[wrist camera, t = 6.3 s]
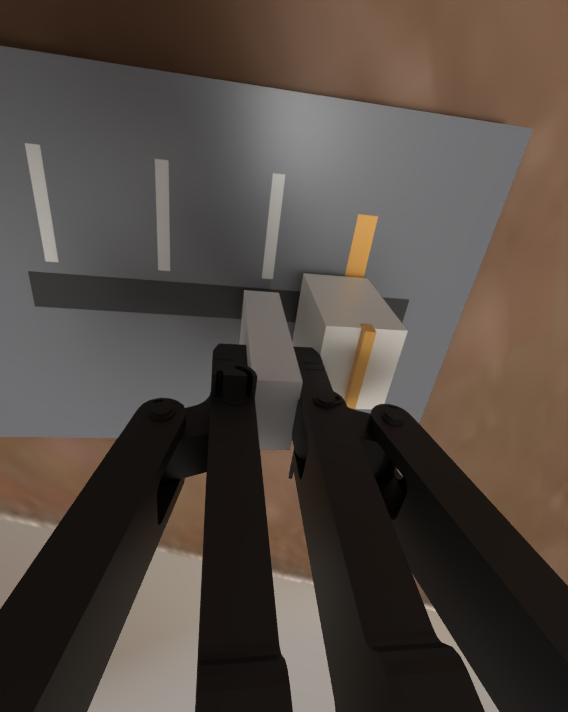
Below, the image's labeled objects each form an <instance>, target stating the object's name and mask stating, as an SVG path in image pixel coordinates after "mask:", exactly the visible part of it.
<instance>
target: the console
mask: <svg viewBox="0 0 568 712" xmlns="http://www.w3.org/2000/svg"><path fill="white" fill-rule="evenodd" d="M532 131H533V129H532V128H526V127H519V126H513V125H507V124H500V123H494V122H487V121H481V120H475V119H468V118H462V117H455V116H449V115H442V114H436V113H430V112H423V111H417V110H410V109H404V108H398V107H391V106H385V105H378V104H372V103H365V102H359V101H353V100H346V99H340V98H333V97H327V96H321V95H314V94H308V93H301V92H295V91H288V90H282V89H276V88H269V87H263V86H256V85H250V84H244V83H237V82H231V81H224V80H218V79H211V78H205V77H199V76H192V75H186V74H179V73H173V72H167V71H160V70H154V69H147V68H141V67H134V66H128V65H122V64H115V63H109V62H102V61H96V60H90V59H83V58H77V57H70V56H64V55H57V54H51V53H45V52H38V51H32V50H25V49H19V48H13V47H6V46H0V437H66V438H118V437H119V436H120V434H121V433H122V431H123V430H124V428H125V427H126V425H127V424H128V422H129V421H130V419H131V418H132V417H133V415H134V414H135V412H136V411H137V409H138V408H139V407H140V406H141V405H142V404H143V403H145V402H147V401H149V400H151V399H157V398H171V399H174V400H177V401H179V402H180V403H181V404H183V405H184V407H185V408H186V407H191V406H195V405H198V404H200V403H202V402H204V401H205V400H206V399H207V398H208V397H209V395H210V392H211V377H212V358H213V350H214V348H215V347H216V346H217V345H218V344H219V343H222V344H239V342H240V331H241V320H242V308H243V297H244V290H250V291H263V292H276V293H279V295H280V299H281V303H282V306H283V310H284V314H285V318H286V321H287V325H288V329H289V332H290V336H291V340H292V342H293V335H294V329H295V323H296V316H297V310H298V304H299V298H300V291H301V285H302V279H303V273H307V274H320V275H332V276H344V277H356V278H368V280H369V281H370V282H371V284H372V285H373V286H374V287H375V289H376V290H377V291H378V293H379V294H380V295H381V297H382V298H383V299H384V300H385V302H386V303H387V304H388V306H389V307H390V308H391V310H392V311H393V312H394V313H395V315H396V316H397V317H398V319H399V320H400V321H401V323H402V324H403V325H404V326H405V328H406V329H407V330H408V332H407V335H406V338H405V341H404V344H403V348H402V351H401V354H400V357H399V360H398V363H397V366H396V369H395V372H394V376H393V379H392V382H391V385H390V388H389V391H388V394H387V397H386V400H385V404H391V405H395V406H398V407H400V408H402V409H404V410H406V411H407V412H408V413H409V414H410V415H411V416H412V417H413V418H414V419H415V420H416V421H417V422H418V423H419V422H420V420H421V417H422V415H423V412H424V410H425V407H426V404H427V402H428V399H429V397H430V394H431V392H432V389H433V386H434V384H435V381H436V379H437V376H438V373H439V371H440V368H441V366H442V363H443V361H444V358H445V355H446V353H447V350H448V348H449V345H450V343H451V340H452V337H453V335H454V332H455V330H456V327H457V325H458V322H459V319H460V317H461V314H462V312H463V309H464V306H465V304H466V301H467V299H468V296H469V294H470V291H471V288H472V286H473V283H474V281H475V278H476V276H477V273H478V270H479V268H480V265H481V263H482V260H483V258H484V255H485V252H486V250H487V247H488V245H489V242H490V239H491V237H492V234H493V232H494V229H495V227H496V224H497V221H498V219H499V216H500V214H501V211H502V209H503V206H504V203H505V201H506V198H507V196H508V193H509V191H510V188H511V185H512V183H513V180H514V178H515V175H516V173H517V170H518V167H519V165H520V162H521V160H522V157H523V154H524V152H525V149H526V147H527V144H528V142H529V139H530V136H531V134H532ZM355 410H358V411H362V412H366V413H371V410H372V409H355ZM292 440H293V439H292Z"/></svg>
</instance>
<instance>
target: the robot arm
mask: <svg viewBox="0 0 568 712" xmlns="http://www.w3.org/2000/svg"><path fill="white" fill-rule="evenodd" d="M292 439H293V444H294V452H293V457H292V462H291V467H290V472H289V479H292V477H293V473H294V475H295V481H296V486H297V492H298V498H299V503H300V509H301V515H302V520H303V526H304V532H305V537H306V543H307V548H308V554H309V560H310V565H311V571H312V577H313V582H314V588H315V593H316V599H317V605H318V610H319V616H320V622H321V627H322V633H323V639H324V644H325V649H326V656H327V661H328V667H329V672H330V677H331V684H332V689H333V695H334V701H335V710H336V712H485V711H484V709H483V706H482V704H481V702H480V699H479V697H478V694H477V692H476V690H475V687H474V685H473V682H472V680H471V678H470V675H469V673H468V671H467V669H466V667H465V665H464V663H463V661H462V659H461V657H460V656H459V654H458V653H457V652H456V651H455V650H454V648H453V647H451V646H449V645H446V644H444V643H442V642H441V641H440V640H439V639H438V638H437V636H436V634H435V632H434V629H433V627H432V625H431V622H430V619H429V617H428V614H427V611H426V609H425V606H424V604H423V601H422V598H421V596H420V593H419V591H418V588H417V585H416V583H415V580H414V578H413V575H414V577H415V578H416V580H417V581H418V583H419V585H420V586H421V588H422V589H423V591H424V592H425V594H426V596H427V597H428V599H429V600H430V602H431V604H432V605H433V607H434V608H435V610H436V612H437V613H438V614H439V616H440V618H441V619H442V621H443V623H444V624H445V626H446V627H447V629H448V631H449V632H450V634H451V635H452V637H453V638H454V640H455V642H456V643H457V645H458V647H459V648H460V650H461V651H462V653H463V654H464V656H465V658H466V659H467V661H468V662H469V664H470V666H471V667H472V668H473V670H474V672H475V674H476V675H477V676H478V678H479V680H480V682H481V683H482V685H483V686H484V687H485V689H486V691H487V692H488V694H489V696H490V697H491V699H492V701H493V702H494V704H495V705H496V707H497V709H498V710H499V712H568V586H567V585H566V584H565V582H564V581H563V580H562V579H561V578H560V577H559V576H558V575H557V574H556V573H555V572H554V570H553V569H552V568H551V567H550V566H549V565H548V564H547V563H546V562H545V561H544V560H543V558H542V557H541V556H540V555H539V554H538V553H537V552H536V551H535V550H534V549H533V548H532V546H531V545H530V544H529V543H528V542H527V541H526V540H525V539H524V538H523V537H522V536H521V534H520V533H519V532H518V531H517V530H516V529H515V528H514V527H513V526H512V525H511V524H510V522H509V521H508V520H507V519H506V518H505V517H504V516H503V515H502V514H501V513H500V512H499V511H498V509H497V508H496V507H495V506H494V505H493V504H492V503H491V502H490V501H489V500H488V499H487V497H486V496H485V495H484V494H483V493H482V492H481V491H480V490H479V489H478V488H477V487H476V485H475V484H474V483H473V482H472V481H471V480H470V479H469V478H468V477H467V476H466V475H465V473H464V472H463V471H462V470H461V469H460V468H459V467H458V466H457V465H456V464H455V463H454V461H453V460H452V459H451V458H450V457H449V456H448V455H447V454H446V453H445V452H444V451H443V449H442V448H441V447H440V446H439V445H438V444H437V443H436V442H435V441H434V440H433V439H432V437H431V436H430V435H429V434H428V433H427V432H426V431H425V430H424V429H423V428H422V427H421V425H420V424H419V423H418V422H417V421H416V420H415V419H414V418H413V417H412V416H411V415H410V414H409V413H408V412H407V411H406V410H404V409H402V408H400V407H398V406H395V405H391V404H379V405H376V406H375V407H374V408H373V409H372V410H371V413H366V412H362V411H358V410H355V409H352V408H349V407H347V404H346V402H345V400H344V399H343V397H342V396H340V395H339V394H338V393H336V392H334V391H333V389H332V386H331V383H330V381H329V378H328V375H327V372H326V371H325V367H324V365H323V361H322V359H321V356H320V354H319V353H318V352H317V351H315V350H314V349H313V348H312V347H294V346H293V344H292V340H291V336H290V332H289V329H288V325H287V321H286V318H285V314H284V310H283V306H282V303H281V299H280V295H279V293H276V292H263V291H250V290H244V297H243V308H242V320H241V331H240V342H239V344H222V343H219V344H218V345H217V346H216V347H215V348H214V350H213V358H212V377H211V392H210V395H209V397H208V398H207V399H206V400H205V401H204V402H202V403H200V404H198V405H195V406H191V407H186V408H185V407H184V405H183V404H181V403H180V402H179V401H177V400H174V399H171V398H157V399H151V400H149V401H147V402H145V403H143V404H142V405H141V406H140V407H139V408H138V409H137V411H136V412H135V414H134V415H133V417H132V418H131V419H130V421H129V422H128V424H127V425H126V427H125V428H124V430H123V431H122V433H121V434H120V436H119V437H118V438H117V440H116V441H115V443H114V444H113V446H112V447H111V449H110V450H109V452H108V453H107V454H106V456H105V457H104V459H103V460H102V462H101V463H100V465H99V466H98V468H97V469H96V471H95V472H94V473H93V475H92V476H91V478H90V479H89V481H88V482H87V484H86V485H85V487H84V488H83V489H82V491H81V492H80V494H79V495H78V497H77V498H76V500H75V501H74V503H73V504H72V506H71V507H70V508H69V510H68V511H67V513H66V514H65V516H64V517H63V519H62V520H61V522H60V523H59V524H58V526H57V527H56V529H55V530H54V532H53V533H52V535H51V536H50V538H49V539H48V541H47V542H46V543H45V545H44V546H43V548H42V549H41V551H40V552H39V554H38V555H37V557H36V558H35V559H34V561H33V562H32V564H31V565H30V567H29V568H28V570H27V571H26V573H25V574H24V576H23V577H22V578H21V580H20V581H19V583H18V584H17V586H16V587H15V589H14V590H13V592H12V593H11V595H10V596H9V597H8V599H7V600H6V602H5V603H4V605H3V606H2V608H1V609H0V712H87V711H88V708H89V706H90V704H91V701H92V699H93V696H94V694H95V692H96V689H97V687H98V685H99V682H100V680H101V678H102V675H103V673H104V671H105V668H106V666H107V664H108V661H109V659H110V656H111V654H112V652H113V649H114V647H115V645H116V642H117V640H118V638H119V635H120V633H121V630H122V628H123V626H124V623H125V621H126V619H127V616H128V614H129V612H130V609H131V607H132V604H133V602H134V600H135V597H136V595H137V593H138V590H139V588H140V586H141V583H142V581H143V579H144V576H145V574H146V571H147V569H148V566H149V564H150V562H151V560H152V557H153V555H154V552H155V550H156V548H157V545H158V543H159V541H160V538H161V536H162V534H163V531H164V529H165V527H166V524H167V522H168V520H169V517H170V515H171V512H172V510H173V508H174V505H175V503H176V501H177V498H178V496H179V494H180V491H181V489H182V486H183V484H184V480H185V478H186V477H189V476H193V475H197V474H201V473H204V472H207V476H206V497H205V518H204V538H203V559H202V582H201V601H200V622H199V643H198V663H197V684H196V685H197V686H196V706H195V712H293V710H292V701H291V691H290V683H289V676H288V669H287V665H286V662H285V659H284V658H283V656H282V655H281V651H280V646H279V639H278V628H277V618H276V608H275V597H274V587H273V577H272V567H271V557H270V547H269V537H268V527H267V517H266V506H265V496H264V486H263V476H262V466H261V456H260V449H270V450H290V447H291V441H292ZM397 469H398V470H399V471H400V473H401V474H402V475H403V477H402V476H401V475H400V474H399V473H398V471H397ZM411 572H412V573H413V575H412V573H411Z"/></svg>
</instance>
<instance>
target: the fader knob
mask: <svg viewBox="0 0 568 712" xmlns="http://www.w3.org/2000/svg"><path fill="white" fill-rule="evenodd" d="M407 332H408V330H407V329H406V328H405V326H404V325H403V324H402V323H401V321H400V320H399V319H398V317H397V316H396V315H395V313H394V312H393V311H392V310H391V308H390V307H389V306H388V304H387V303H386V302H385V300H384V299H383V298H382V297H381V295H380V294H379V293H378V291H377V290H376V289H375V287H374V286H373V285H372V284H371V282H370V281H369V280H368V278H356V277H344V276H332V275H320V274H307V273H303V279H302V285H301V291H300V298H299V304H298V310H297V316H296V323H295V329H294V335H293V342H292V344H293V346H294V347H312V348H313V349H314V350H315V351H317V352H318V353H319V354H320V356H321V359H322V361H323V365H324V367H325V371H326V372H327V375H328V378H329V381H330V383H331V386H332V389H333V391H334V392H336V393H338V394H339V395H340V396H342V397H343V399H344V400H345V402H346V404H347V407H349V408H352V409H373V408H374V407H375V406H376V405H379V404H385V400H386V397H387V394H388V391H389V388H390V385H391V382H392V379H393V376H394V372H395V369H396V366H397V363H398V360H399V357H400V354H401V351H402V348H403V344H404V341H405V338H406V335H407Z"/></svg>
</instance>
